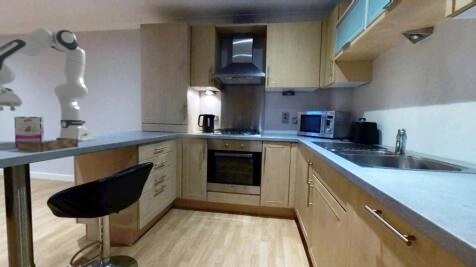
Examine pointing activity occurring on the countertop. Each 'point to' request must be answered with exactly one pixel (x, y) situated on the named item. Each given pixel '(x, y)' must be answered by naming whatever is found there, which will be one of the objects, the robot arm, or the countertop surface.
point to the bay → (48, 144)
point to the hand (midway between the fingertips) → (7, 110)
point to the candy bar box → (29, 129)
